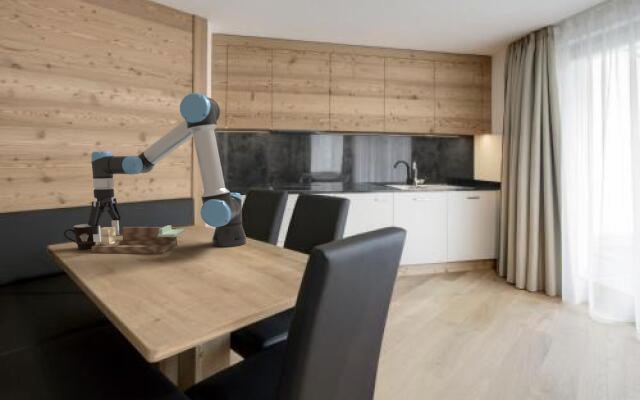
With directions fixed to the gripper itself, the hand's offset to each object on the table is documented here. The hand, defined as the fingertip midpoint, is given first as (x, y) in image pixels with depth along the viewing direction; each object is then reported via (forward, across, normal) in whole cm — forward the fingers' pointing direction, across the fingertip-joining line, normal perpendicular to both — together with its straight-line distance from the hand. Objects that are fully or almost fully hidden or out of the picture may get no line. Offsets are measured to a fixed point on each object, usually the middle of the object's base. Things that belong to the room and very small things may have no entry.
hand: (106, 238), depth 165 cm
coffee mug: (+5, -2, -12) cm, 13 cm away
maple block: (+2, 0, 0) cm, 2 cm away
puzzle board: (+5, -1, +12) cm, 13 cm away
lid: (-2, -1, +28) cm, 28 cm away
